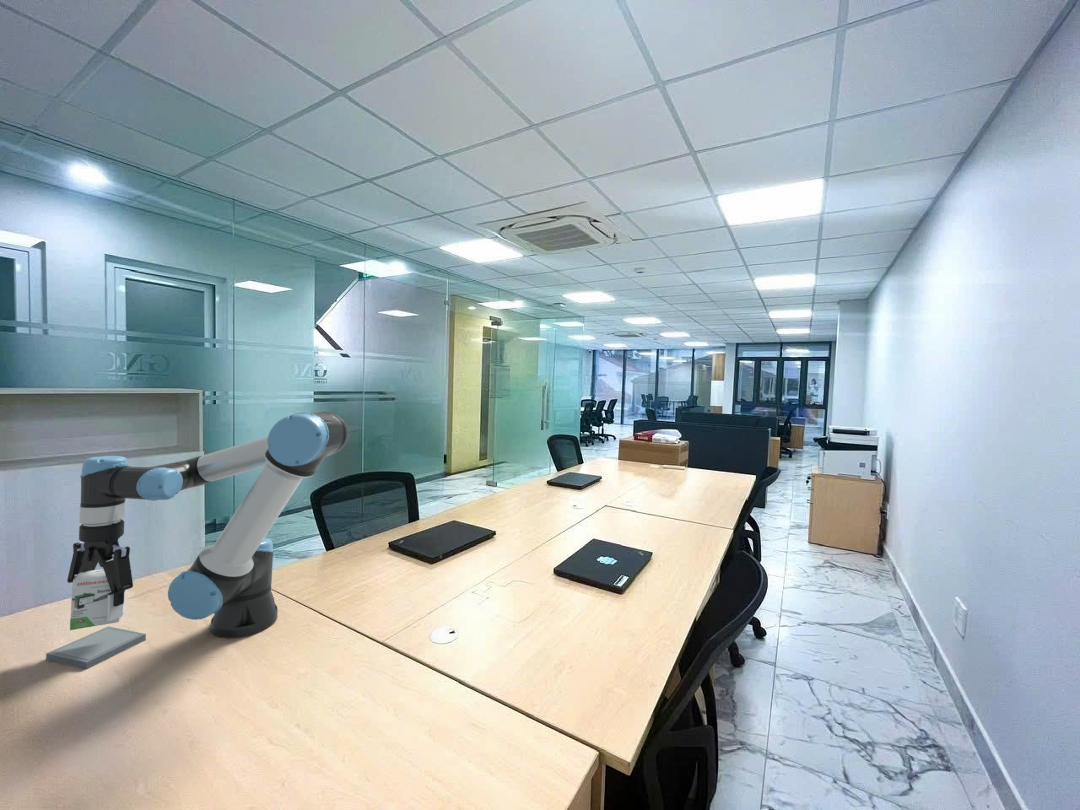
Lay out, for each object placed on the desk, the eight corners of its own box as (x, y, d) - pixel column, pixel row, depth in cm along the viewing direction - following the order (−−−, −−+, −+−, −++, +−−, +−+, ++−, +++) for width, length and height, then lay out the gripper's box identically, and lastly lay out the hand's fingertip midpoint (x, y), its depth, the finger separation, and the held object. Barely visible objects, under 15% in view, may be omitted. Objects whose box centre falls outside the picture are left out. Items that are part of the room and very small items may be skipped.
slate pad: (145, 639, 107) (145, 633, 107) (86, 669, 96) (86, 662, 96) (108, 632, 110) (108, 626, 110) (45, 659, 98) (46, 653, 98)
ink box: (68, 631, 98) (70, 580, 98) (75, 621, 102) (77, 571, 102) (120, 622, 103) (122, 573, 103) (125, 612, 107) (127, 565, 107)
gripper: (156, 522, 104) (152, 614, 104) (86, 512, 108) (83, 601, 108) (120, 531, 96) (116, 631, 97) (47, 520, 101) (43, 615, 101)
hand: (98, 615), depth 102 cm, fingers closed on ink box, 9 cm apart
